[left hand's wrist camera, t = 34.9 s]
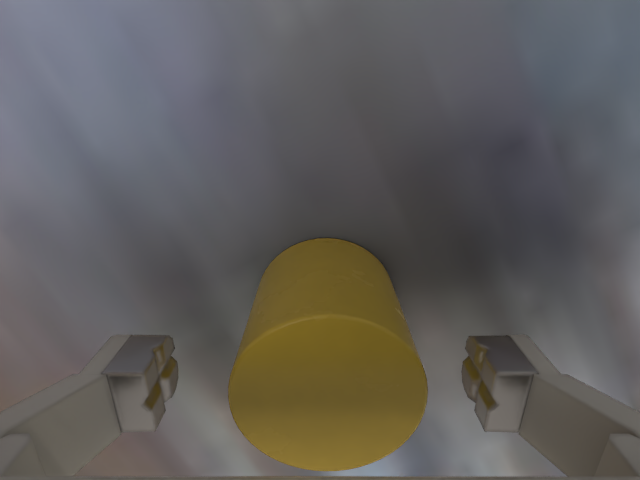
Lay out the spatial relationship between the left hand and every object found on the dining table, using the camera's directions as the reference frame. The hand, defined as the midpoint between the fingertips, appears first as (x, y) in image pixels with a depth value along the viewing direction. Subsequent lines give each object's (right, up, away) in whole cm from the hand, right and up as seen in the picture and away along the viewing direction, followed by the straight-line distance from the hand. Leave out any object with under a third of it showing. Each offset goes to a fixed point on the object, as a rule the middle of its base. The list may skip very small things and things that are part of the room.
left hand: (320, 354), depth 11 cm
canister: (0, +1, +3) cm, 3 cm away
